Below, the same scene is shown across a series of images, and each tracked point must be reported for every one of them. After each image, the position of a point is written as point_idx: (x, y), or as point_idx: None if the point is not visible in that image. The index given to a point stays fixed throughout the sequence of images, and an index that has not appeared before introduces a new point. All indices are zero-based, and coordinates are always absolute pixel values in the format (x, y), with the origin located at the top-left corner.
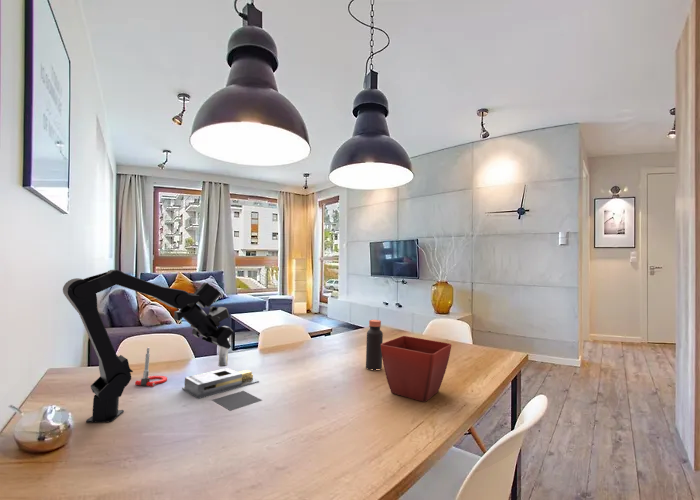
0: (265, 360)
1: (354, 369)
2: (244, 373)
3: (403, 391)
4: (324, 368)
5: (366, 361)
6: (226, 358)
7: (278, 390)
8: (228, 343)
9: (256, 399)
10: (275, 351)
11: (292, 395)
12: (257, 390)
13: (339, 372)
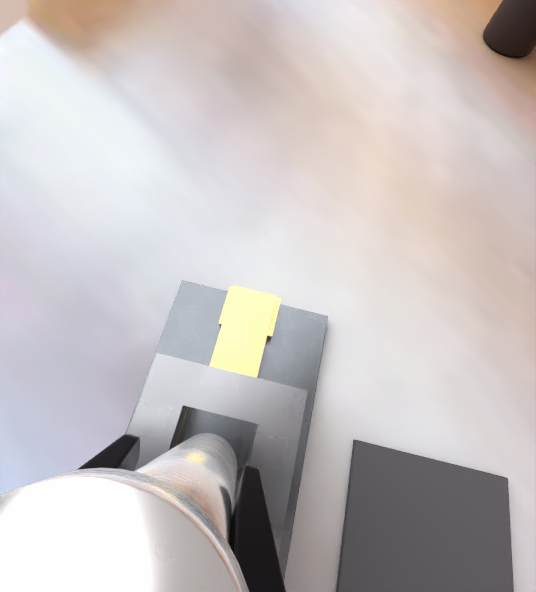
0: (147, 107)
1: (473, 67)
2: (266, 335)
3: None
4: (396, 93)
5: (514, 24)
6: (235, 479)
7: (448, 339)
8: (273, 552)
9: (485, 489)
10: (110, 19)
11: (527, 351)
12: (386, 387)
13: (461, 104)
